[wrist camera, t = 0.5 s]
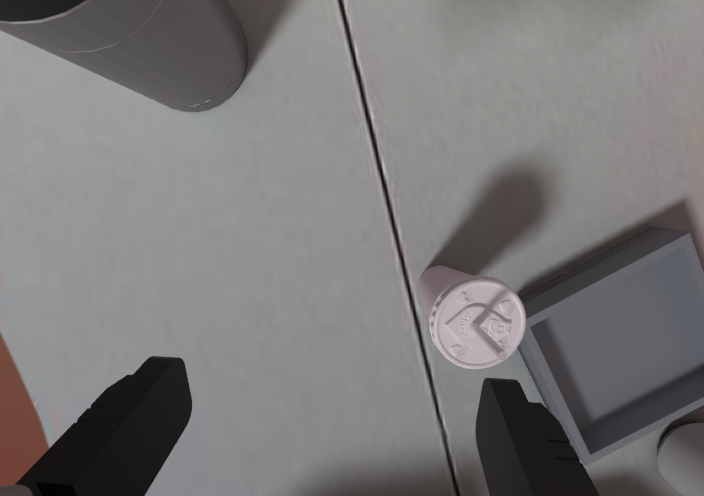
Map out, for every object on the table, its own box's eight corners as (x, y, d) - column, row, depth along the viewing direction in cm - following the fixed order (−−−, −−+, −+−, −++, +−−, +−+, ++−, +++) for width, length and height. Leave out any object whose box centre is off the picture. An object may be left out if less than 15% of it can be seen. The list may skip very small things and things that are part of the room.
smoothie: (407, 248, 33) (462, 297, 19) (476, 252, 34) (579, 302, 20) (400, 316, 34) (448, 408, 20) (467, 319, 35) (559, 411, 21)
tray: (498, 309, 35) (517, 323, 31) (653, 227, 34) (689, 232, 31) (562, 439, 38) (585, 465, 34) (705, 365, 37) (743, 384, 34)
